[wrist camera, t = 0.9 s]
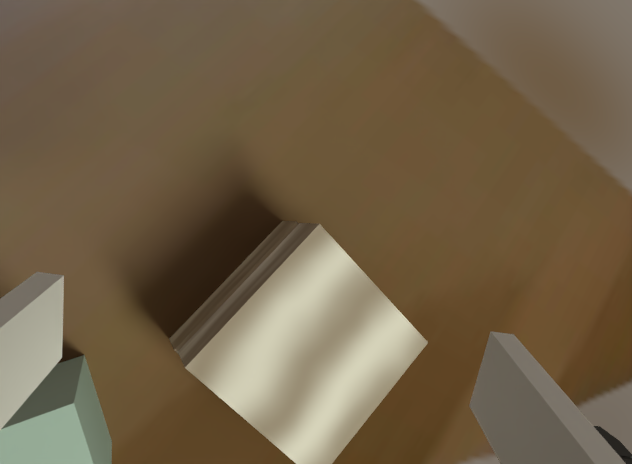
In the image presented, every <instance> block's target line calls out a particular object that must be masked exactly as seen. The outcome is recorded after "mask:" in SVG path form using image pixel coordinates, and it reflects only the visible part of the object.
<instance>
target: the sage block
mask: <svg viewBox="0 0 632 464" xmlns="http://www.w3.org/2000/svg"><path fill="white" fill-rule="evenodd" d="M111 457H112V441H111V438H110V435H109V431H108V428H107V425H106V422H105V419H104V416H103V412H102V409H101V406H100V403H99V400H98V397H97V393H96V390H95V387H94V384H93V381H92V378H91V374H90V371H89V368H88V365H87V362H86V358H85V355H83V356H80V357H77V358H74V359H71V360H68V361H65V362H62V363H59V364H56V365H55V367H54V368H53V369H52V370H51V371H50V373H49V374H48V375H47V376H46V377H45V378H44V380H43V381H42V382H41V383H40V384H39V385H38V387H37V388H36V389H35V390H34V391H33V392H32V394H31V395H30V396H29V397H28V398H27V400H26V401H25V402H24V403H23V404H22V405H21V407H20V408H19V409H18V410H17V411H16V412H15V414H14V415H13V416H12V417H11V418H10V419H9V421H8V422H7V423H6V424H5V425H4V426H3V428H2V429H1V430H0V464H111Z"/></svg>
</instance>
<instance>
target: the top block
mask: <svg viewBox="0 0 632 464" xmlns="http://www.w3.org/2000/svg"><path fill="white" fill-rule="evenodd" d="M427 343H428V342H427V341H426V340H425V339H424V338H423V337H422V335H421V334H420V333H419V332H418V331H417V330H416V329H415V328H414V327H413V326H412V325H411V323H410V322H409V321H408V320H407V319H406V318H405V317H404V316H403V315H402V314H401V312H400V311H399V310H398V309H397V308H396V307H395V306H394V305H393V304H392V303H391V302H390V300H389V299H388V298H387V297H386V296H385V295H384V294H383V293H382V292H381V291H380V290H379V288H378V287H377V286H376V285H375V284H374V283H373V282H372V281H371V280H370V279H369V277H368V276H367V275H366V274H365V273H364V272H363V271H362V270H361V269H360V268H359V267H358V265H357V264H356V263H355V262H354V261H353V260H352V259H351V258H350V257H349V256H348V255H347V253H346V252H345V251H344V250H343V249H342V248H341V247H340V246H339V245H338V244H337V242H336V241H335V240H334V239H333V238H332V237H331V236H330V235H329V234H328V233H327V232H326V230H325V229H324V228H323V227H322V226H321V225H320V224H310V223H299V224H298V226H297V227H296V228H295V229H294V230H293V231H292V232H291V233H290V234H289V235H288V236H287V237H286V238H285V239H284V240H283V241H282V242H281V243H280V245H279V246H278V247H277V248H276V249H275V250H274V251H273V252H272V253H271V254H270V255H269V256H268V257H267V258H266V259H265V260H264V261H263V262H262V263H261V265H260V266H259V267H258V268H257V269H256V270H255V271H254V272H253V273H252V274H251V275H250V276H249V277H248V278H247V279H246V280H245V281H244V282H243V283H242V285H241V286H240V287H239V288H238V289H237V290H236V291H235V292H234V293H233V294H232V295H231V296H230V297H229V298H228V299H227V300H226V301H225V302H224V304H223V305H222V306H221V307H220V308H219V309H218V310H217V311H216V312H215V313H214V314H213V315H212V316H211V317H210V318H209V319H208V320H207V321H206V322H205V324H204V325H203V326H202V327H201V328H200V329H199V330H198V331H197V332H196V333H195V334H194V335H193V336H192V337H191V338H190V339H189V340H188V341H187V342H186V344H185V345H184V346H183V347H182V348H181V349H180V350H179V351H178V353H179V356H180V358H181V360H182V362H183V364H184V366H185V368H186V369H187V370H188V371H189V372H191V373H192V374H193V375H194V376H195V377H196V378H198V379H199V380H200V381H201V382H202V383H203V384H205V385H206V386H207V387H208V388H209V389H210V390H211V391H213V392H214V393H215V394H216V395H217V396H218V397H220V398H221V399H222V400H223V401H224V402H225V403H227V404H228V405H229V406H230V407H231V408H232V409H234V410H235V411H236V412H237V413H238V414H239V415H240V416H242V417H243V418H244V419H245V420H246V421H247V422H249V423H250V424H251V425H252V426H253V427H254V428H256V429H257V430H258V431H259V432H260V433H261V434H263V435H264V436H265V437H266V438H267V439H268V440H269V441H271V442H272V443H273V444H274V445H275V446H276V447H278V448H279V449H280V450H281V451H282V452H283V453H285V454H286V455H287V456H288V457H289V458H290V459H291V460H293V461H294V462H295V463H296V464H332V463H333V461H334V460H335V459H336V458H337V456H338V455H339V454H340V453H341V451H342V450H343V449H344V448H345V446H346V445H347V444H348V443H349V441H350V440H351V439H352V438H353V436H354V435H355V434H356V433H357V431H358V430H359V429H360V427H361V426H362V425H363V424H364V422H365V421H366V420H367V419H368V417H369V416H370V415H371V414H372V412H373V411H374V410H375V409H376V407H377V406H378V405H379V404H380V402H381V401H382V400H383V399H384V397H385V396H386V395H387V393H388V392H389V391H390V390H391V388H392V387H393V386H394V385H395V383H396V382H397V381H398V380H399V378H400V377H401V376H402V375H403V373H404V372H405V371H406V370H407V368H408V367H409V366H410V365H411V363H412V362H413V361H414V360H415V358H416V357H417V356H418V354H419V353H420V352H421V351H422V349H423V348H424V347H425V346H426V344H427Z"/></svg>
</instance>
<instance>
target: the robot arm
mask: <svg viewBox="0 0 632 464" xmlns="http://www.w3.org/2000/svg"><path fill="white" fill-rule="evenodd" d="M63 293H64V275H56V274H49V273H41V272H36V273H35V274H34V275H32V276H31V277H29V278H28V279H27V280H25V281H24V282H23V283H21V284H20V285H18V286H17V287H16V288H14V289H13V290H12V291H10V292H9V293H7V294H6V295H5V296H3V297H2V298H1V299H0V430H1V429H2V428H3V426H4V425H5V424H6V423H7V422H8V421H9V419H10V418H11V417H12V416H13V415H14V414H15V412H16V411H17V410H18V409H19V408H20V407H21V405H22V404H23V403H24V402H25V401H26V400H27V398H28V397H29V396H30V395H31V394H32V392H33V391H34V390H35V389H36V388H37V387H38V385H39V384H40V383H41V382H42V381H43V380H44V378H45V377H46V376H47V375H48V374H49V373H50V371H51V370H52V369H53V368H54V367H55V365H56V364H57V363H58V362H59V361H60V360H61V358H62V340H63ZM469 406H470V408H471V410H472V412H473V413H474V415H475V417H476V419H477V421H478V423H479V425H480V426H481V428H482V430H483V432H484V434H485V436H486V438H487V439H488V441H489V443H490V445H491V447H492V449H493V451H494V452H495V454H496V456H497V458H498V460H499V461H500V464H632V454H631V453H630V452H629V451H628V450H627V449H626V448H625V446H624V445H623V444H622V443H621V442H620V441H619V440H617V439H616V438H615V437H613V436H612V435H610V434H609V433H608V432H606V431H605V430H604V429H602V428H601V427H598V426H593V425H592V424H591V423H590V422H589V420H588V419H587V418H586V417H585V416H584V415H583V414H582V413H581V411H580V410H579V409H578V408H577V407H576V406H575V404H574V403H573V402H572V401H571V400H570V399H569V397H568V396H567V395H566V394H565V393H564V392H563V391H562V389H561V388H560V387H559V386H558V385H557V384H556V383H555V381H554V380H553V379H552V378H551V377H550V376H549V374H548V373H547V372H546V371H545V370H544V369H543V368H542V366H541V365H540V364H539V363H538V362H537V361H536V360H535V358H534V357H533V356H532V355H531V354H530V353H529V351H528V350H527V349H526V348H525V347H524V346H523V345H522V343H521V342H520V341H519V340H518V339H517V338H516V336H515V335H513V334H506V333H498V332H490V336H489V339H488V343H487V346H486V350H485V353H484V357H483V360H482V364H481V367H480V371H479V374H478V378H477V381H476V385H475V388H474V392H473V395H472V398H471V402H470V405H469Z"/></svg>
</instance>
